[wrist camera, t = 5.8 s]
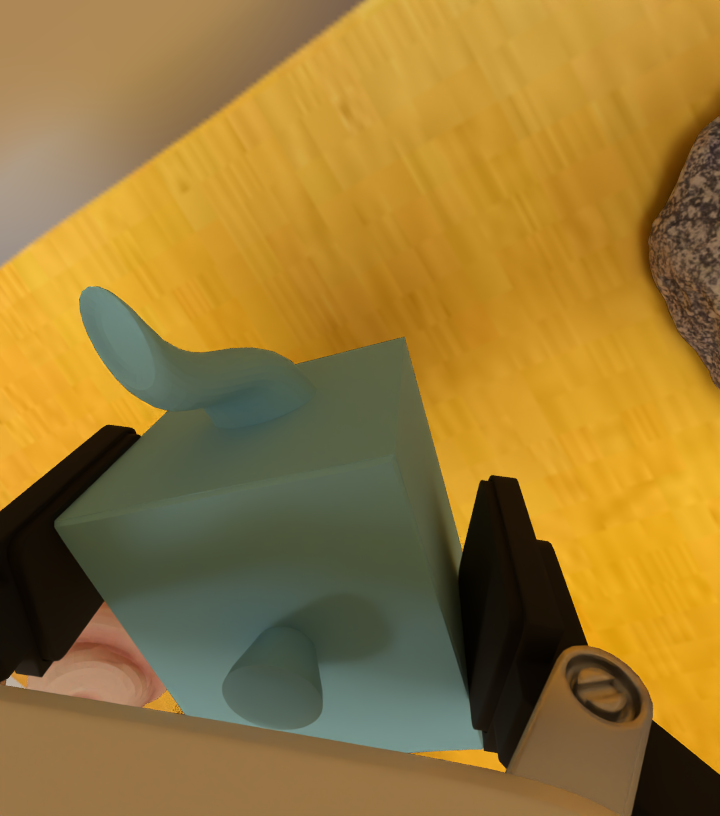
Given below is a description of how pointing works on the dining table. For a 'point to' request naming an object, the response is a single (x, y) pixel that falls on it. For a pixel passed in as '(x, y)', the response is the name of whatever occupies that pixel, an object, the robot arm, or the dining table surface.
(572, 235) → the dining table surface
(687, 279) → the rock
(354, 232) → the dining table surface
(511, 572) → the robot arm
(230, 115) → the dining table surface
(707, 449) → the dining table surface
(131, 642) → the cupcake
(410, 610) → the teapot
